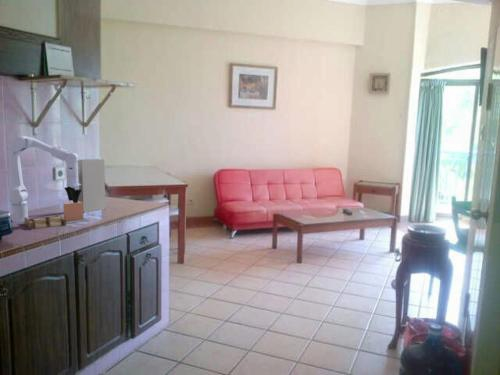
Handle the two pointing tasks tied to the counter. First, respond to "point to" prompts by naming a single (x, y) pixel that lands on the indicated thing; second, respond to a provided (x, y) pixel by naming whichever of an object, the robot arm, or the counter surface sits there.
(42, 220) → the offcut
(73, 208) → the panel
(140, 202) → the counter surface
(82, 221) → the mat
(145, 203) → the counter surface
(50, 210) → the counter surface
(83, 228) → the counter surface
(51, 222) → the offcut
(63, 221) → the rack
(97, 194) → the grey tall block
